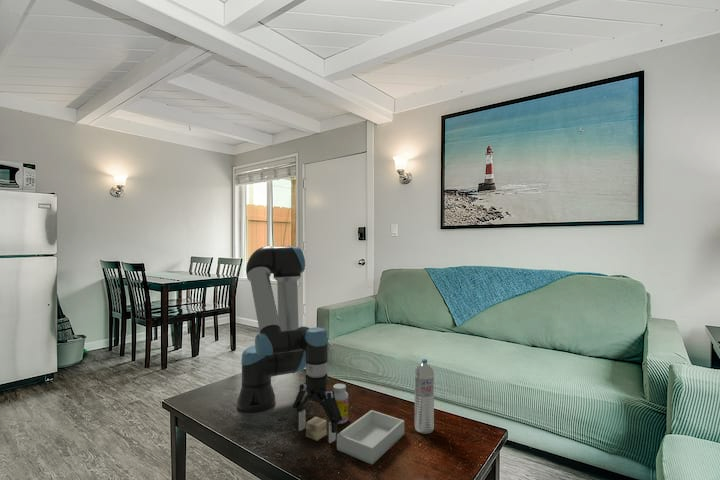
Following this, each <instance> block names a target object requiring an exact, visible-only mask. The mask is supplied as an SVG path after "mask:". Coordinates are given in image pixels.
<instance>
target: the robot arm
mask: <svg viewBox="0 0 720 480" xmlns="http://www.w3.org/2000/svg"><path fill="white" fill-rule="evenodd" d="M245 267H246V268H245V272H246V274H245V275H246V279H247V280H248V281H249V282H250V285H251V286H250V287H251V291H252V292H251V293H252V298H253V304H254V308H255V314H256V319H257V326H258V331H259V333H258V334H256V335H255V338H254V345H252V346H249V347H247V348H245V349H244V350H243V351H242V354H241V361H240V363H241V388H240V391H239V395H238V397H237V401H236V407H237V409H238V410H240V411H242V412H244V413H258V412H262V411H266V410H269V409H271V408H272V407H274V406H275V404H276V395H275V391H274V388H273V386H272V377H277V376H282V375H289V374H295V373H299V372H302V371H304V370H305V374H306V375H305V382H303V383H301V384H300V385H299V390H298V393H297V395H296V398H295V401H294V403H293V405H292V408H293V409H296V412H297V420H298V431H299V432H301V431H303V430H306V422H307V421H306V419H307V418H306V409H305V408H306V406H307V405H308V403H310V402H315V403H317V404H319V406H321V407H322V409H323V411H324V413H325V414H326V416H327V418H328V420H329V422H328V443H329V444H332V443H333V442H335V441H337V434H336V433H337V431H338V424H337V423H339V422H340V421H341V420H342V417H341V414H340V411H339V408H338V405H337V402H336V400H335V395H334V390H331V391H330V390H329V391H328V390H327V387H328V382H329V381H328V380H329V379H328V376H329V375H328V362H329V361H328V352H329V351H328V348H329V347H328V341H329V337H328V331H327V329H325V328H323V327H319V326H318V327H308V326H299V296H298V295H299V293H298V289H299V288H298V280H299V279H300V278H301V276H302V273H304V272H305V269H306V260H305V255H304V253H303V250H302V249H301V247H299V246H291V245H282V246H281V245H279V246H278V245H277V246H276V245H275V246H269V245H268V246H267V245H265V246H262V247H260V248H258V249H256V250H255V251H254V252H253V253H252V254H251V255H250V256H249V258H248V260H247V263H246V266H245ZM271 275H273V279H274V280H275V281H276V282H277V283H276V284H277V287H276V288H277V289H276V290H277V305H276V301H275V297H274V292H273V287H272V283H271V278H270V277H271ZM306 392H307V394H306ZM305 394H306V396H305ZM333 418H334V419H333Z"/></svg>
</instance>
